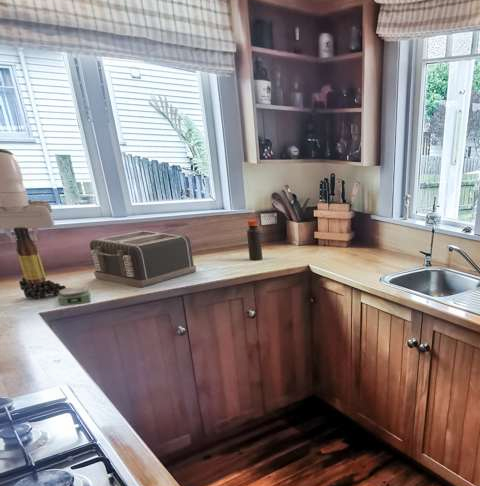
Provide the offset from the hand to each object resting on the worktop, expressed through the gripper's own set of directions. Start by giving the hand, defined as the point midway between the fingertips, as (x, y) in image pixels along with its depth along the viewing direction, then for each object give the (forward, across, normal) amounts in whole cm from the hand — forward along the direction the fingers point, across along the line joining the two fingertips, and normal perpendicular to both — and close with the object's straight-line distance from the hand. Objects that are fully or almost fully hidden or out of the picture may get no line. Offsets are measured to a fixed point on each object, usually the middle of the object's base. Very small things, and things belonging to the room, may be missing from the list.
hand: (24, 241), depth 163 cm
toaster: (+24, -36, -32) cm, 54 cm away
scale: (+24, -10, -5) cm, 27 cm away
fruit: (+25, 0, -14) cm, 29 cm away
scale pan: (+21, -10, -5) cm, 24 cm away
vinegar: (+24, -92, -45) cm, 105 cm away
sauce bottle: (+15, 0, 0) cm, 15 cm away
